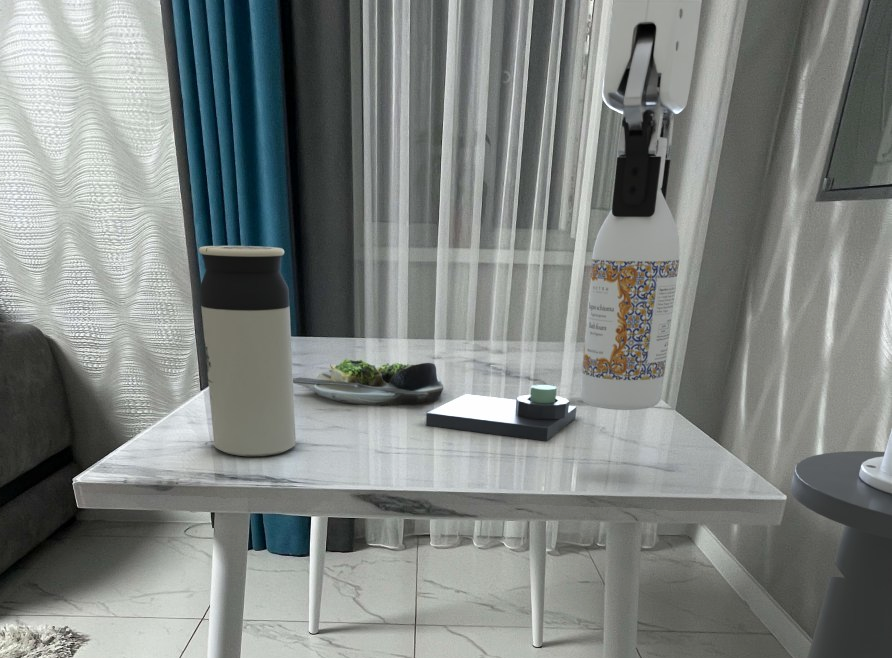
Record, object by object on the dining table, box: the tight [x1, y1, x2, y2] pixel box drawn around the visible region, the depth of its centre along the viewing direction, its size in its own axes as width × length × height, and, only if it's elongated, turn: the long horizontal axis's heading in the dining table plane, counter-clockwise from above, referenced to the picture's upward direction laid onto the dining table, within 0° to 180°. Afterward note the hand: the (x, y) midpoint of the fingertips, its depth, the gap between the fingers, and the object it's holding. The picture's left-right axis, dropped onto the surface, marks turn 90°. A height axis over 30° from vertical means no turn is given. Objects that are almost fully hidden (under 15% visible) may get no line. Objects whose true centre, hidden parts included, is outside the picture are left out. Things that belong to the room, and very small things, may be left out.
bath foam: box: [580, 137, 680, 411], centre depth 67 cm, size 7×7×20 cm
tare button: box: [529, 384, 557, 403], centre depth 90 cm, size 3×3×2 cm
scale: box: [425, 393, 578, 442], centre depth 92 cm, size 14×12×3 cm
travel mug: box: [198, 245, 297, 457], centre depth 76 cm, size 8×8×18 cm
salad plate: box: [293, 358, 444, 406], centre depth 104 cm, size 19×18×5 cm
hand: (638, 213), depth 64 cm, fingers closed on bath foam, 3 cm apart
